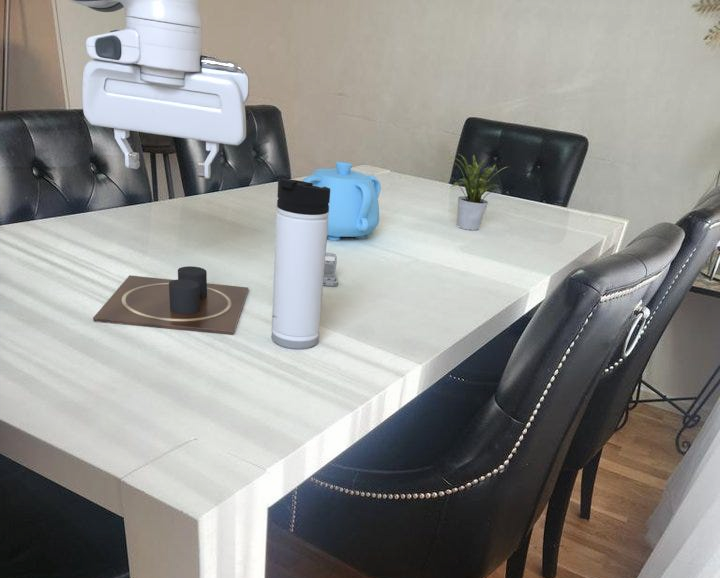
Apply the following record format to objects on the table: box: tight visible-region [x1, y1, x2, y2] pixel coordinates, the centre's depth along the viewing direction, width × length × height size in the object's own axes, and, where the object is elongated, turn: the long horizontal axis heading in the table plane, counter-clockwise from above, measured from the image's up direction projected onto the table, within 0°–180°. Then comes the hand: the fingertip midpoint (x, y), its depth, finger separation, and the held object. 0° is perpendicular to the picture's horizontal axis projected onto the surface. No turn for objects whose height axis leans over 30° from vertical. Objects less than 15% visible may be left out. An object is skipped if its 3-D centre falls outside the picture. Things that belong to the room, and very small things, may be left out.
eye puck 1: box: [177, 265, 208, 299], centre depth 93 cm, size 4×4×4 cm
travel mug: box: [271, 178, 330, 350], centre depth 81 cm, size 6×7×20 cm
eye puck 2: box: [169, 278, 200, 314], centre depth 88 cm, size 4×4×4 cm
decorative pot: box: [302, 161, 382, 241], centre depth 131 cm, size 16×16×14 cm
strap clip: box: [323, 252, 339, 287], centre depth 108 cm, size 8×3×4 cm, turn 9°
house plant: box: [450, 153, 511, 231], centre depth 150 cm, size 14×14×16 cm
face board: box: [92, 274, 250, 336], centre depth 92 cm, size 18×18×1 cm
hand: (168, 172), depth 87 cm, fingers open, 8 cm apart
